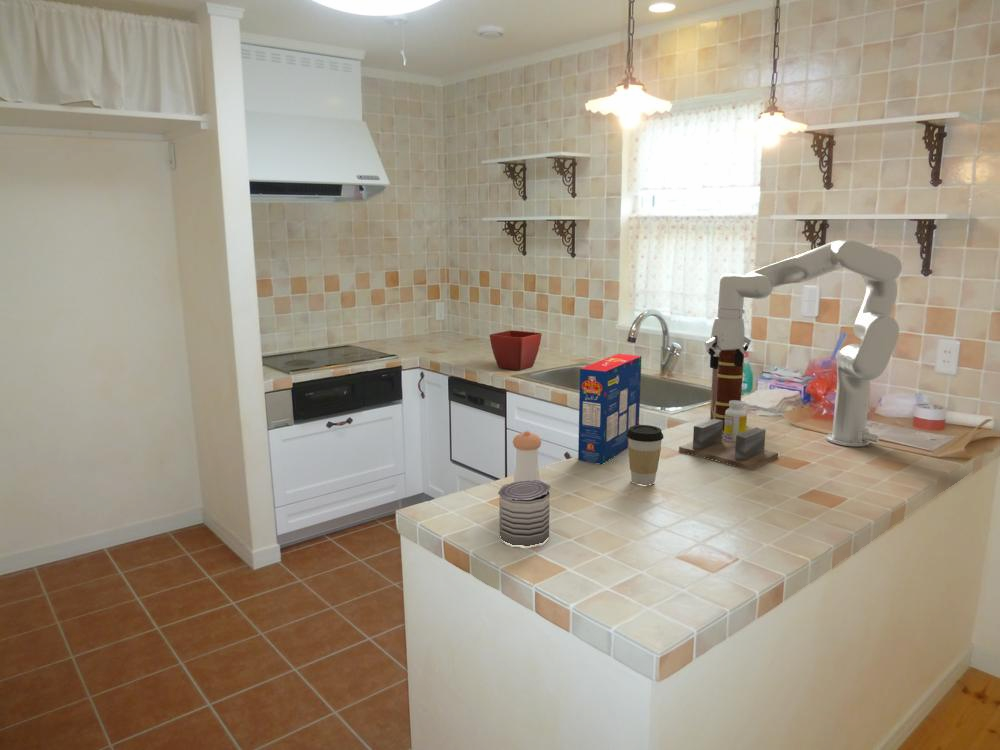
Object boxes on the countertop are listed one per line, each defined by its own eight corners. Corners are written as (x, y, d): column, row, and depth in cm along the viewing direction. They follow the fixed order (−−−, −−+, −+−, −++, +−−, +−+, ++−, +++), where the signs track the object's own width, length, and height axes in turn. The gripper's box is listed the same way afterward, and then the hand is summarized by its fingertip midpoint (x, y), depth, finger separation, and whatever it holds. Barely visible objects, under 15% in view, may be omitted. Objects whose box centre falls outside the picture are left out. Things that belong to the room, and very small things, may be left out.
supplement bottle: (745, 438, 231) (747, 400, 228) (745, 444, 225) (747, 405, 222) (723, 436, 233) (726, 398, 230) (723, 442, 227) (725, 403, 224)
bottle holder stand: (777, 457, 211) (780, 430, 209) (751, 470, 200) (753, 441, 199) (706, 440, 228) (707, 415, 227) (678, 451, 218) (680, 425, 216)
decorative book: (740, 435, 234) (746, 346, 227) (715, 434, 235) (720, 345, 229) (732, 417, 255) (737, 335, 249) (709, 416, 257) (714, 335, 251)
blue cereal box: (615, 436, 233) (618, 353, 227) (638, 440, 229) (641, 356, 223) (578, 460, 210) (579, 368, 204) (602, 464, 206) (605, 371, 200)
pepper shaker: (521, 512, 172) (521, 437, 168) (507, 502, 178) (507, 429, 174) (546, 506, 175) (547, 433, 171) (532, 497, 182) (532, 425, 178)
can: (546, 550, 152) (547, 498, 149) (494, 547, 154) (494, 495, 151) (552, 528, 163) (552, 479, 160) (503, 525, 165) (503, 477, 162)
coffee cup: (664, 479, 194) (667, 426, 191) (657, 491, 185) (659, 436, 182) (629, 473, 198) (631, 422, 195) (620, 485, 189) (622, 432, 186)
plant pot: (510, 362, 360) (510, 329, 357) (542, 366, 349) (542, 332, 346) (488, 368, 345) (488, 334, 341) (521, 373, 334) (521, 337, 330)
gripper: (743, 311, 228) (739, 363, 232) (700, 313, 222) (696, 367, 225) (760, 314, 221) (755, 367, 225) (715, 316, 215) (711, 371, 218)
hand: (726, 367), depth 225 cm, fingers open, 9 cm apart
